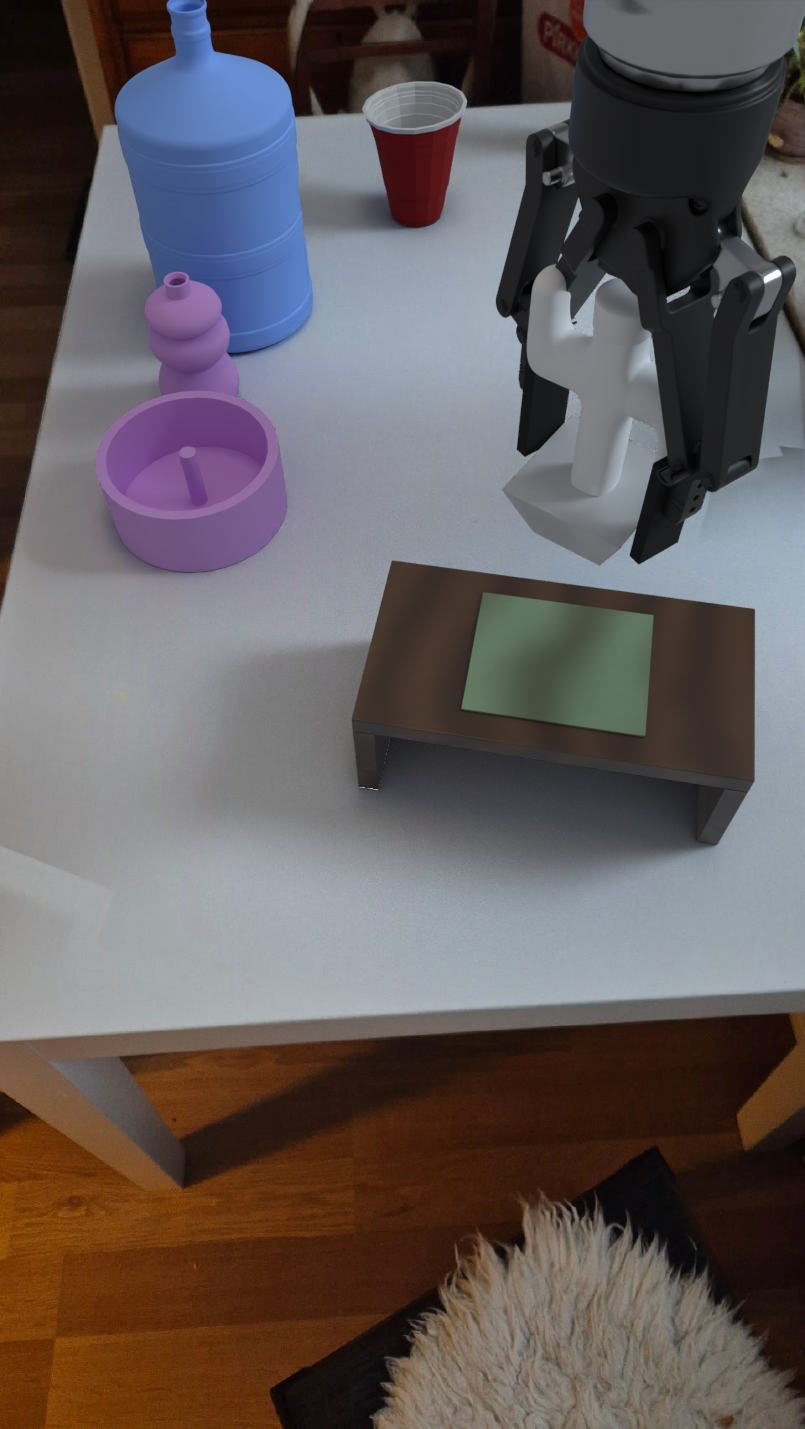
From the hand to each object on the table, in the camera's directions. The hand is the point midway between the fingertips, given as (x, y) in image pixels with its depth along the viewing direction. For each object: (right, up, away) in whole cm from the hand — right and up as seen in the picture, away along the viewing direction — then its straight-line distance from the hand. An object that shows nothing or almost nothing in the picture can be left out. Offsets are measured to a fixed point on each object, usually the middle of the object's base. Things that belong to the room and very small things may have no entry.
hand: (594, 494), depth 55 cm
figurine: (0, -1, +2) cm, 3 cm away
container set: (-29, +10, +37) cm, 48 cm away
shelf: (0, -14, +21) cm, 25 cm away
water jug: (-27, +30, +50) cm, 64 cm away
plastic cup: (-9, +44, +59) cm, 74 cm away
